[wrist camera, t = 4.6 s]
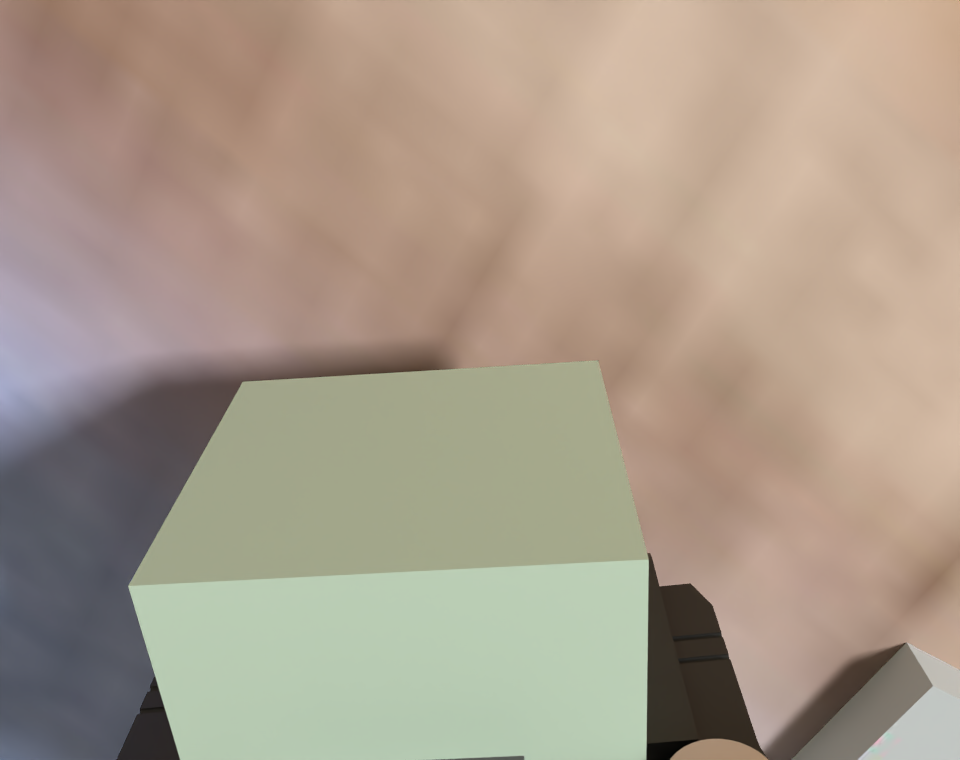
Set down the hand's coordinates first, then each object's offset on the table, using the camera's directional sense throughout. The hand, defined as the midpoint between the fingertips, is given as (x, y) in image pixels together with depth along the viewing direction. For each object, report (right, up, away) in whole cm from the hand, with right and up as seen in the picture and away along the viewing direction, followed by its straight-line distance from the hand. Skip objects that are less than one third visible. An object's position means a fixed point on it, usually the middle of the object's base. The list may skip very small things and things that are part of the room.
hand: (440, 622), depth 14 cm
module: (0, 0, 0) cm, 1 cm away
